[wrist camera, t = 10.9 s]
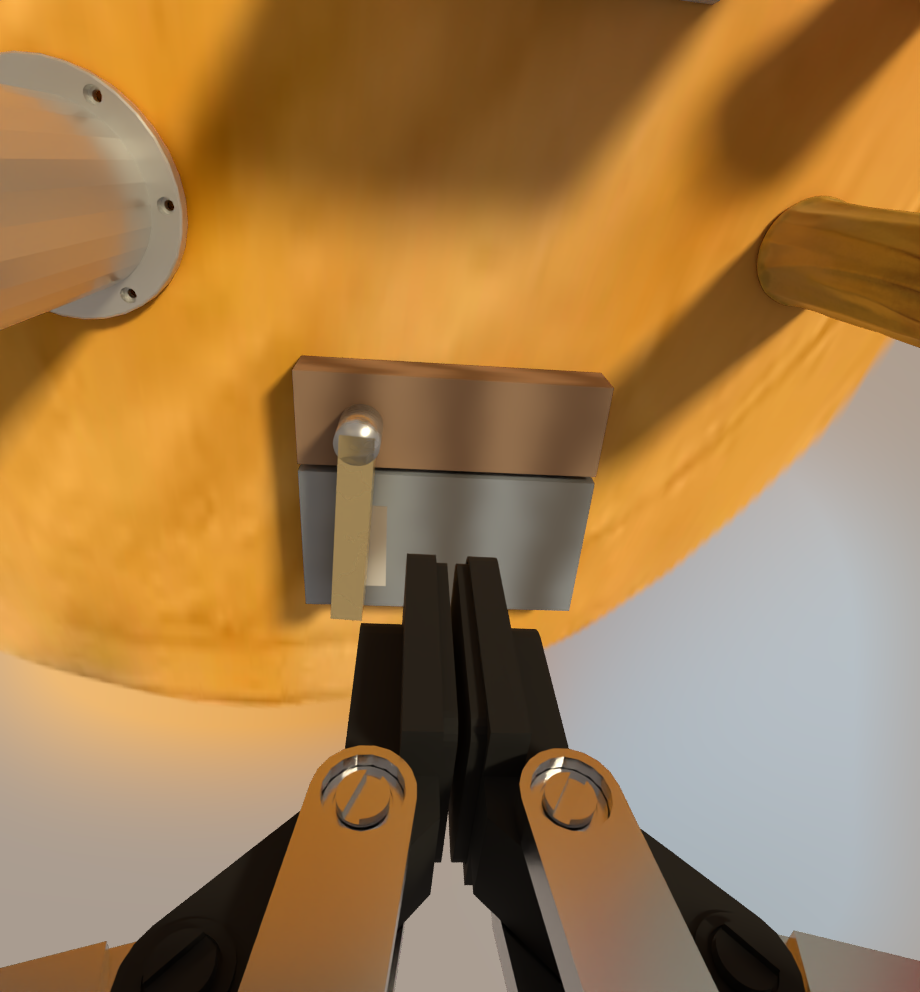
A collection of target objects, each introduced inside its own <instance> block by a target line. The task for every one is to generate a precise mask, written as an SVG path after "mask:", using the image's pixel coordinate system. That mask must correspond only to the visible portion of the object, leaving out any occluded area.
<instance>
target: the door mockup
mask: <svg viewBox="0 0 920 992" xmlns="http://www.w3.org/2000/svg"><path fill="white" fill-rule="evenodd" d="M292 377H293V394H294V411H295V428H296V445H297V462H298V464H301V465H300V467H299V470H298V479H299V496H300V513H301V530H302V547H303V564H304V581H305V598H306V604H331V598H332V576H333V553H334V531H335V508H336V486H337V464H338V456H337V455H336V453H335V451H334V448H333V439H334V435H335V432H336V429H337V426H338V423H339V420H340V417H341V415H342V413H343V412H344V411H345V410H346V409H347V408H348V407H350V406H352V405H355V404H365V405H369V406H371V407H373V408H374V409H376V410H377V411H378V412H379V414H380V415H381V417H382V420H383V432H382V438H381V445H380V450H379V453H378V455H377V457H376V463H375V476H374V489H373V502H372V515H371V528H370V541H369V554H368V567H367V580H366V592H365V600H364V605H373V606H403V604H404V589H405V574H406V559H407V553H408V554H430V555H436V561H437V563H447V566H448V580H449V595H450V606H451V597H452V588H453V580H454V571H455V565H456V563H457V564H466V559H467V557H468V556H473V557H495V558H497V560H498V564H499V569H500V574H501V580H502V585H503V590H504V595H505V600H506V605H507V609H522V610H560V611H569V608H570V603H571V598H572V593H573V588H574V583H575V578H576V573H577V568H578V563H579V558H580V554H581V549H582V544H583V539H584V534H585V529H586V524H587V519H588V514H589V509H590V504H591V499H592V494H593V489H594V482H593V480H592V478H591V477H596V474H597V469H598V464H599V459H600V454H601V449H602V444H603V439H604V434H605V429H606V424H607V419H608V415H609V410H610V405H611V400H612V395H613V390H614V388H613V386H612V385H611V384H610V383H609V382H608V380H607V379H606V378H605V377H604V376H603V374H602V373H593V372H576V371H559V370H542V369H525V368H507V367H490V366H473V365H456V364H439V363H422V362H404V361H387V360H370V359H353V358H336V357H318V356H301V357H300V358H299V360H298V362H297V363H296V365H295V366H294V368H293V369H292Z"/></svg>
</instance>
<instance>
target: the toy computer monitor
mask: <svg viewBox="0 0 920 992" xmlns="http://www.w3.org/2000/svg"><path fill="white" fill-rule="evenodd" d="M682 1H690V2H697V3H705V4H712V5H713V4H715V3H716V2H718V1H720V0H682Z"/></svg>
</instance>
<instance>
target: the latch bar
mask: <svg viewBox="0 0 920 992" xmlns="http://www.w3.org/2000/svg"><path fill="white" fill-rule="evenodd" d="M382 432H383V420H382V417H381V415H380V414H379V412H378V411H377V410H376V409H374V408H373V407H371V406H369V405H365V404H355V405H352V406H350V407H348V408H347V409H346V410H345V411H344V412H343V413H342V415H341V417H340V420H339V423H338V426H337V429H336V432H335V435H334V439H333V448H334V451H335V453H336V455H337V456H338V464H337V486H336V508H335V531H334V553H333V576H332V598H331V619H345V620H359V621H362V614H363V607H364V600H365V592H366V580H367V567H368V554H369V541H370V528H371V515H372V502H373V489H374V476H375V463H376V457H377V455H378V453H379V450H380V445H381V438H382Z"/></svg>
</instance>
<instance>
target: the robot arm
mask: <svg viewBox="0 0 920 992" xmlns="http://www.w3.org/2000/svg"><path fill="white" fill-rule="evenodd" d="M99 90H100V92H101V94H102V101H101V102H100V101H99V100H98V99H97V97H96V93H97V92H98V91H99ZM169 200H170V201H172V202H173V205H174V210H170V209H169V208H168V205H167V202H168V201H169ZM187 228H188V219H187V207H186V198H185V195H184V191H183V187H182V183H181V179H180V175H179V173H178V171H177V168H176V166H175V164H174V161H173V159H172V157H171V155H170V152H169V150H168V148H167V147H166V145H165V144H164V142H163V140H162V139H161V137H160V136H159V134H158V133H157V131H156V129H155V128H154V126H153V125H152V124H151V123H150V122H149V120H148V119H147V118H146V117H145V116H144V115H143V113H142V112H141V111H140V110H139V109H138V107H137V106H136V105H135V104H134V103H133V102H132V101H130V100H129V99H128V98H127V97H126V96H125V95H123V94H122V93H121V92H120V91H119V90H118V89H117V88H115V87H114V86H113V85H112V84H110V83H109V82H107V81H105V80H104V79H102V78H100V77H99V76H97V75H96V74H94V73H92V72H91V71H89V70H88V69H85V68H83V67H80V66H78V65H75V64H73V63H70V62H68V61H65V60H63V59H60V58H56V57H52V56H48V55H44V54H41V53H32V52H21V51H8V52H1V53H0V330H2V329H5V328H7V327H10V326H12V325H15V324H17V323H20V322H23V321H25V320H28V319H30V318H33V317H35V316H38V315H40V314H43V313H45V312H52V313H55V314H58V315H61V316H66V317H72V318H79V319H106V318H110V317H115V316H119V315H123V314H126V313H128V312H131V311H133V310H135V309H137V308H139V307H141V306H143V305H144V304H146V303H147V302H149V301H151V300H152V299H154V298H155V297H156V296H157V295H158V294H159V293H160V292H161V291H162V290H163V289H164V288H165V287H166V286H167V285H168V284H169V283H170V281H171V279H172V278H173V276H174V274H175V273H176V271H177V269H178V267H179V265H180V262H181V259H182V256H183V253H184V250H185V247H186V238H187ZM131 289H133V290H134V291H135V293H136V295H137V297H136V296H133V295H132V293H131ZM448 814H449V836H450V855H451V862H463V869H464V885H473V894H474V895H475V896H476V897H477V898H478V899H479V900H480V901H481V902H482V903H483V904H484V905H485V906H486V907H487V908H489V909H490V910H491V915H492V927H493V932H494V936H495V940H496V945H497V949H498V953H499V957H500V962H501V966H502V971H503V975H504V979H505V984H506V988H507V992H920V961H918V960H914V959H910V958H905V957H901V956H897V955H893V954H889V953H885V952H880V951H877V950H872V949H868V948H864V947H860V946H856V945H852V944H848V943H844V942H839V941H835V940H831V939H827V938H823V937H818V936H815V935H810V934H806V933H802V932H798V931H793V932H792V934H791V936H790V937H786V936H782V935H778V934H777V933H776V932H775V931H774V930H772V929H771V928H770V927H769V926H768V925H767V924H766V923H765V922H764V921H763V920H762V919H760V918H759V917H758V916H757V915H755V914H754V913H753V912H751V911H750V910H748V909H747V908H746V907H745V906H743V905H742V904H741V903H739V902H738V901H737V900H735V899H734V898H733V897H731V896H730V895H729V894H727V893H726V892H725V891H723V890H722V889H721V888H719V887H718V886H717V885H715V884H714V883H713V882H711V881H710V880H709V879H707V878H706V877H704V876H703V875H702V874H701V873H699V872H698V871H697V870H695V869H694V868H693V867H691V866H690V865H689V864H687V863H686V862H684V861H683V860H682V859H681V858H679V857H678V856H677V855H675V854H674V853H673V852H671V851H670V850H668V849H667V848H666V847H664V846H663V845H662V844H660V843H659V842H658V841H656V840H655V839H654V838H652V837H651V836H650V835H648V834H647V833H646V832H644V831H643V830H642V829H640V828H639V825H638V824H637V821H636V819H635V817H634V815H633V813H632V811H631V809H630V807H629V805H628V803H627V801H626V799H625V797H624V794H623V793H622V790H621V788H620V786H619V784H618V783H617V782H616V780H615V779H614V777H613V775H612V774H611V772H610V771H609V770H607V769H606V768H605V767H604V766H603V765H602V764H601V763H600V762H599V761H597V760H596V759H594V758H592V757H590V756H588V755H587V754H585V753H582V752H579V751H575V750H572V749H569V748H568V744H567V740H566V736H565V732H564V728H563V724H562V720H561V716H560V712H559V709H558V704H557V701H556V697H555V693H554V689H553V685H552V681H551V677H550V673H549V669H548V665H547V662H546V658H545V654H544V650H543V646H542V642H541V638H540V635H539V632H538V631H537V630H536V629H516V628H511V625H510V620H509V615H508V610H507V605H506V600H505V595H504V590H503V585H502V580H501V574H500V569H499V564H498V560H497V558H495V557H473V556H468V557H467V559H466V564H457V563H456V565H455V571H454V580H453V588H452V597H451V606H450V595H449V580H448V566H447V563H437V561H436V555H430V554H408V553H407V559H406V574H405V589H404V604H403V620H402V625H400V624H371V623H361V626H360V633H359V641H358V649H357V657H356V665H355V673H354V681H353V689H352V697H351V705H350V713H349V721H348V729H347V737H346V745H345V749H343V750H341V751H340V752H338V753H336V754H334V755H332V756H331V757H329V758H328V759H327V760H326V761H325V762H324V763H323V764H322V765H321V766H320V767H319V768H318V769H317V771H316V773H315V775H314V776H313V778H312V780H311V782H310V784H309V788H308V790H307V793H306V796H305V799H304V802H303V805H302V808H301V810H300V811H299V812H298V813H297V814H296V815H294V816H293V817H292V818H290V819H289V820H288V821H287V822H285V823H284V824H283V825H281V826H280V827H279V828H278V829H276V830H275V831H274V832H272V833H271V834H270V835H269V836H267V837H266V838H265V839H263V840H262V841H261V842H260V843H258V844H257V845H256V846H254V847H253V848H252V849H251V850H249V851H248V852H247V853H245V854H244V855H243V856H242V857H240V858H239V859H238V860H237V861H235V862H234V863H233V864H231V865H230V866H229V867H228V868H226V869H225V870H224V871H222V872H221V873H220V874H219V875H217V876H216V877H215V878H214V879H212V880H211V881H210V882H209V883H207V884H206V885H205V886H203V887H202V888H201V889H199V890H198V891H197V892H196V893H194V894H193V895H192V896H190V897H189V898H188V899H187V900H185V901H184V902H183V903H181V904H180V905H179V906H178V907H176V908H175V909H174V910H172V911H171V912H170V913H169V914H167V915H166V916H165V917H164V918H162V919H161V920H160V921H158V922H157V923H156V924H155V925H153V926H152V927H151V928H150V929H149V930H148V931H147V932H146V933H145V934H144V935H143V936H142V937H141V938H140V939H139V940H138V941H137V942H133V943H129V944H125V945H121V946H117V947H113V948H109V947H108V944H107V941H105V942H101V943H97V944H93V945H89V946H85V947H81V948H77V949H73V950H69V951H66V952H61V953H57V954H54V955H50V956H46V957H42V958H38V959H34V960H30V961H26V962H22V963H18V964H14V965H10V966H6V967H2V968H0V992H394V991H395V985H396V978H397V972H398V965H399V959H400V953H401V946H402V939H403V933H404V925H405V921H406V920H407V919H408V918H409V917H410V915H411V914H412V913H413V912H414V911H415V910H416V909H417V908H418V907H419V906H420V905H421V904H422V902H423V901H424V900H425V899H426V898H427V897H428V896H429V895H430V892H431V885H432V877H433V869H434V862H441V859H442V852H443V845H444V838H445V830H446V822H447V815H448Z"/></svg>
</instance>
